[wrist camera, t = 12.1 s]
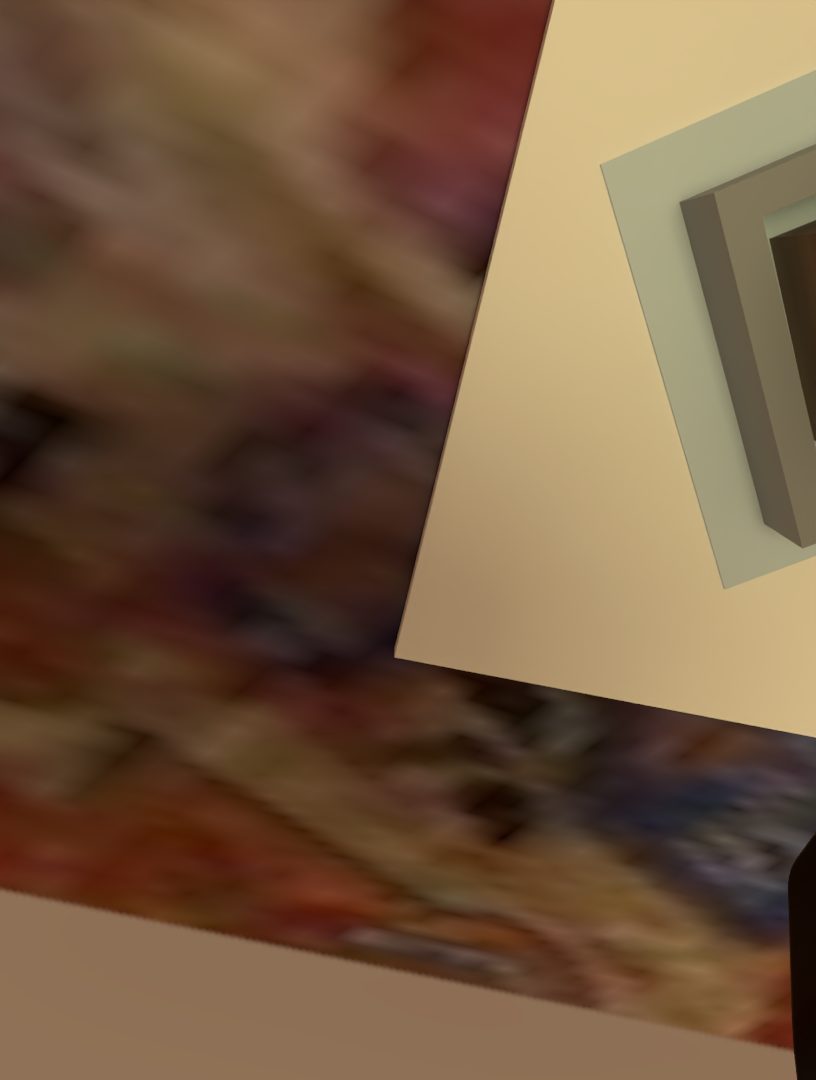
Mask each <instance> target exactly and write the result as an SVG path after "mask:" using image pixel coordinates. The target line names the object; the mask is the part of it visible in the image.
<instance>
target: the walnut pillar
mask: <svg viewBox="0 0 816 1080" xmlns="http://www.w3.org/2000/svg"><path fill="white" fill-rule="evenodd" d="M769 240H770V245H771V249H772V254H773V258H774V263H775V267H776V272H777V277H778V281H779V286H780V290H781V295H782V299H783V304H784V309H785V313H786V318H787V322H788V327H789V331H790V336H791V341H792V345H793V350H794V354H795V359H796V363H797V368H798V373H799V377H800V382H801V386H802V390H803V395H804V399H805V403H806V408H807V412H808V416H809V421H810V425H811V429H812V434H813V438H814V441H816V220H814V221H812V222H809V223H807V224H805V225H802V226H800V227H797V228H795V229H792V230H790V231H787V232H785V233H782V234H780V235H777V236H775V237H772V238H770V239H769Z"/></svg>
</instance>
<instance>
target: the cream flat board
mask: <svg viewBox="0 0 816 1080" xmlns="http://www.w3.org/2000/svg"><path fill="white" fill-rule="evenodd" d="M814 220H816V0H552V3H551V7H550V11H549V15H548V20H547V24H546V28H545V32H544V36H543V40H542V44H541V48H540V52H539V56H538V61H537V65H536V69H535V73H534V77H533V81H532V85H531V89H530V93H529V98H528V102H527V106H526V110H525V114H524V118H523V122H522V126H521V130H520V135H519V139H518V143H517V147H516V151H515V155H514V159H513V163H512V167H511V171H510V176H509V180H508V184H507V188H506V192H505V196H504V200H503V204H502V208H501V213H500V217H499V221H498V225H497V229H496V233H495V237H494V241H493V245H492V249H491V254H490V258H489V262H488V266H487V270H486V274H485V278H484V282H483V286H482V291H481V295H480V299H479V303H478V307H477V311H476V315H475V319H474V323H473V327H472V332H471V336H470V340H469V344H468V348H467V352H466V356H465V360H464V364H463V369H462V373H461V377H460V381H459V385H458V389H457V393H456V397H455V401H454V406H453V410H452V414H451V418H450V422H449V426H448V430H447V434H446V438H445V442H444V447H443V451H442V455H441V459H440V463H439V467H438V471H437V475H436V479H435V484H434V488H433V492H432V496H431V500H430V504H429V508H428V512H427V516H426V520H425V525H424V529H423V533H422V537H421V541H420V545H419V549H418V553H417V557H416V562H415V566H414V570H413V574H412V578H411V582H410V586H409V590H408V594H407V599H406V603H405V607H404V611H403V615H402V619H401V623H400V627H399V631H398V635H397V640H396V644H395V648H394V657H395V658H401V659H406V660H411V661H416V662H422V663H427V664H432V665H437V666H443V667H448V668H453V669H458V670H464V671H469V672H474V673H480V674H485V675H490V676H495V677H501V678H506V679H511V680H516V681H522V682H527V683H532V684H537V685H543V686H548V687H553V688H558V689H564V690H569V691H574V692H580V693H585V694H590V695H595V696H601V697H606V698H611V699H616V700H622V701H627V702H632V703H637V704H643V705H648V706H653V707H658V708H664V709H669V710H674V711H679V712H685V713H690V714H695V715H701V716H706V717H711V718H716V719H722V720H727V721H732V722H737V723H743V724H748V725H753V726H758V727H764V728H769V729H774V730H779V731H785V732H790V733H795V734H800V735H806V736H811V737H816V441H814V438H813V434H812V429H811V425H810V421H809V416H808V412H807V408H806V403H805V399H804V395H803V390H802V386H801V382H800V377H799V373H798V368H797V363H796V359H795V354H794V350H793V345H792V341H791V336H790V331H789V327H788V322H787V318H786V313H785V309H784V304H783V299H782V295H781V290H780V286H779V281H778V277H777V272H776V267H775V263H774V258H773V254H772V249H771V245H770V240H769V239H770V238H772V237H775V236H777V235H780V234H782V233H785V232H787V231H790V230H792V229H795V228H797V227H800V226H802V225H805V224H807V223H809V222H812V221H814Z"/></svg>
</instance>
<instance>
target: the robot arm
mask: <svg viewBox="0 0 816 1080" xmlns="http://www.w3.org/2000/svg"><path fill="white" fill-rule="evenodd" d="M788 904H789V938H790V971H791V1005H792V1029H793V1046H794V1055H795V1065H796V1073H797V1080H816V832H815V834H814V835H813V837H812V838H811V839H810V841H809V842H808V843H807V845H806V846H805V848H804V849H803V850H802V852H801V853H800V855H799V856H798V857H797V859H796V860H795V862H794V864H793V866H792V868H791V871H790V875H789V881H788Z"/></svg>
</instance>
